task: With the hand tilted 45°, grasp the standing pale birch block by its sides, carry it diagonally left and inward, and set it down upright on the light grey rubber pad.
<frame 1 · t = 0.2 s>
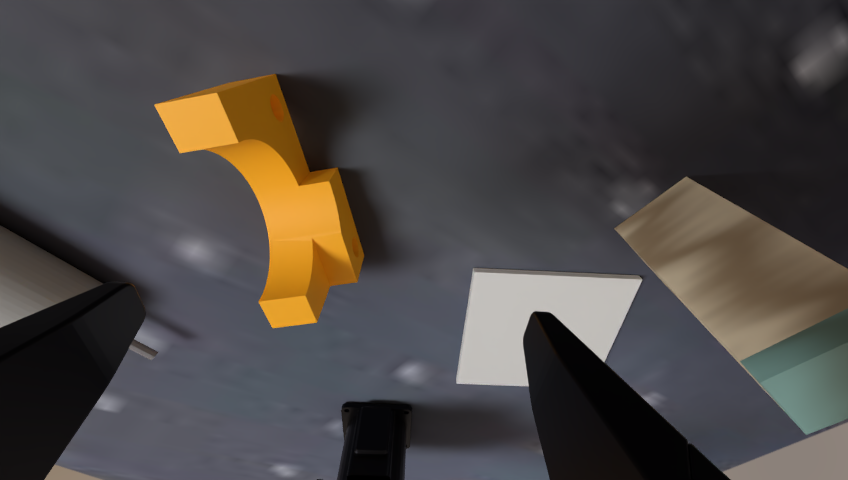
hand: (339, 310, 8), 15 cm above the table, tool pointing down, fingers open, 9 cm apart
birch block: (667, 227, 24), on the table
grey pad: (538, 332, 29), on the table
pipe clamp: (307, 177, 22), on the table
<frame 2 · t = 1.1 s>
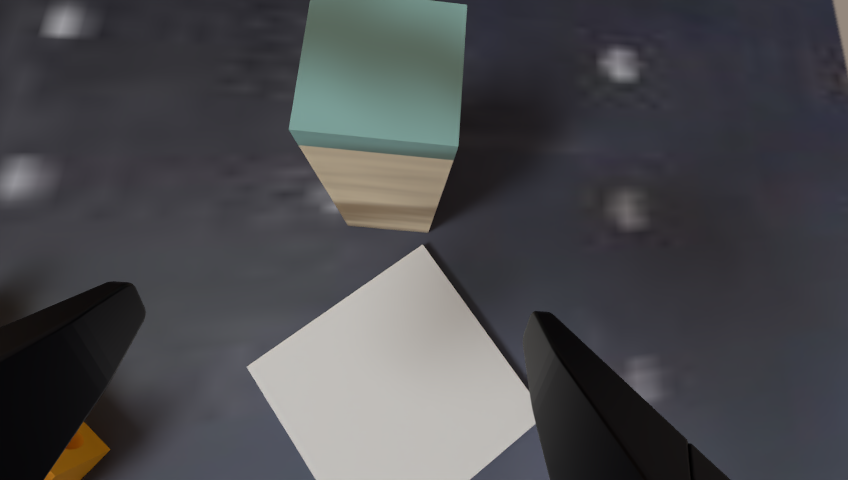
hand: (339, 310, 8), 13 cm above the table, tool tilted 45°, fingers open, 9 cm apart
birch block: (392, 191, 23), on the table
grey pad: (398, 389, 20), on the table
pipe clamp: (8, 402, 19), on the table
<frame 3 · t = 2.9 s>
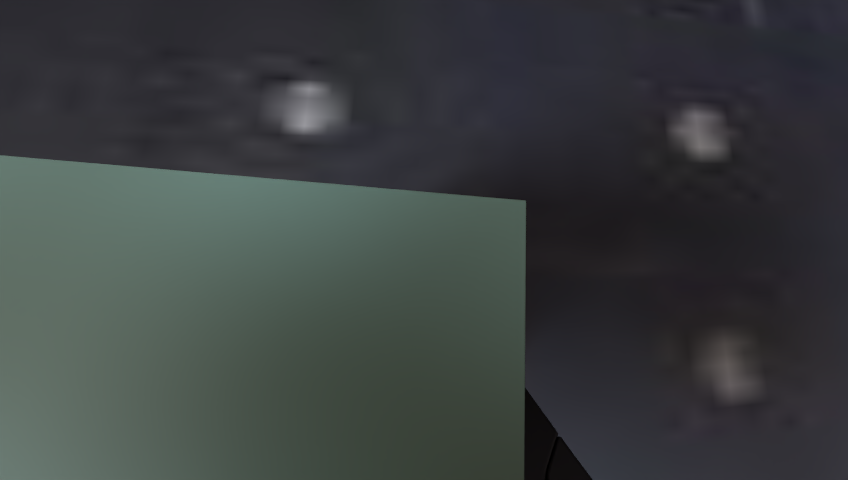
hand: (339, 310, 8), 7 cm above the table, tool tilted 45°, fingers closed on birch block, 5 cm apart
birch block: (362, 348, 14), on the table, touching gripper
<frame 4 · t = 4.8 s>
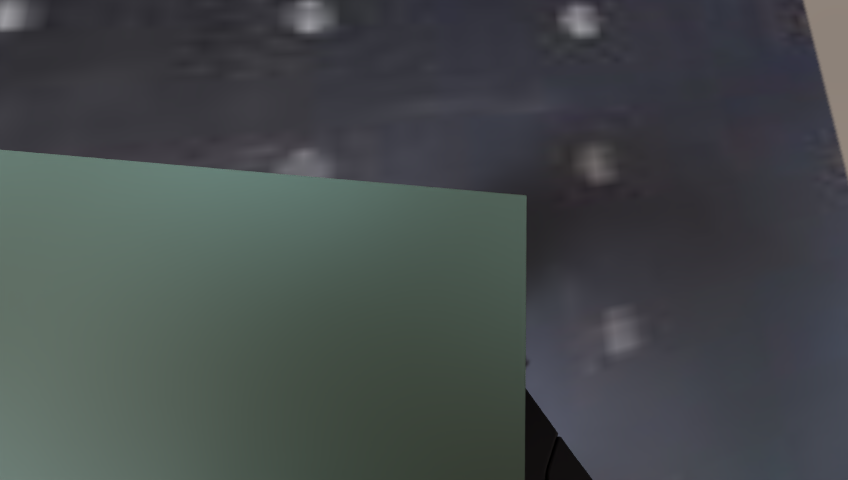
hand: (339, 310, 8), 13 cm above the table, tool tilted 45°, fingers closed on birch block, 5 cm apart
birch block: (362, 347, 14), point 6 cm above the table, touching gripper
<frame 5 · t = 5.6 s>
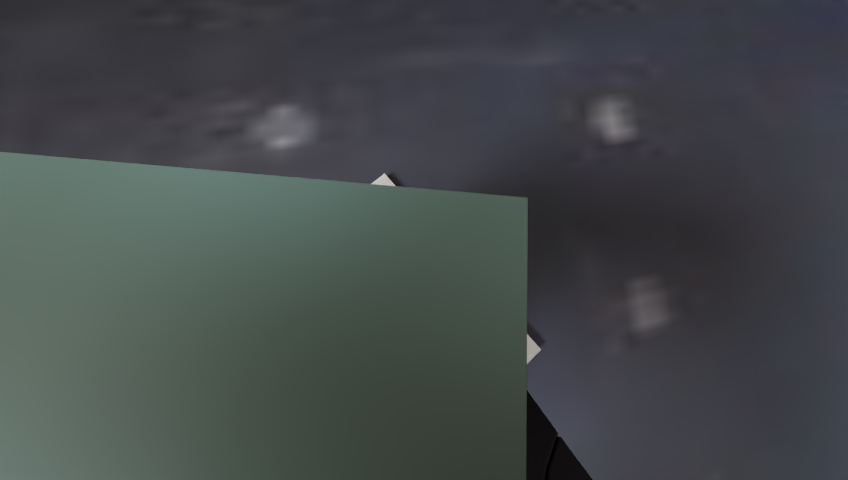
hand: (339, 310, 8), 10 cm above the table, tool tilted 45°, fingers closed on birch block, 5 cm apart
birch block: (362, 348, 14), point 3 cm above the table, touching gripper
grey pad: (369, 337, 18), on the table
when the fingers open (8 cm above the table, at t = 6.4 s): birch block stays where it is, resting on grey pad.
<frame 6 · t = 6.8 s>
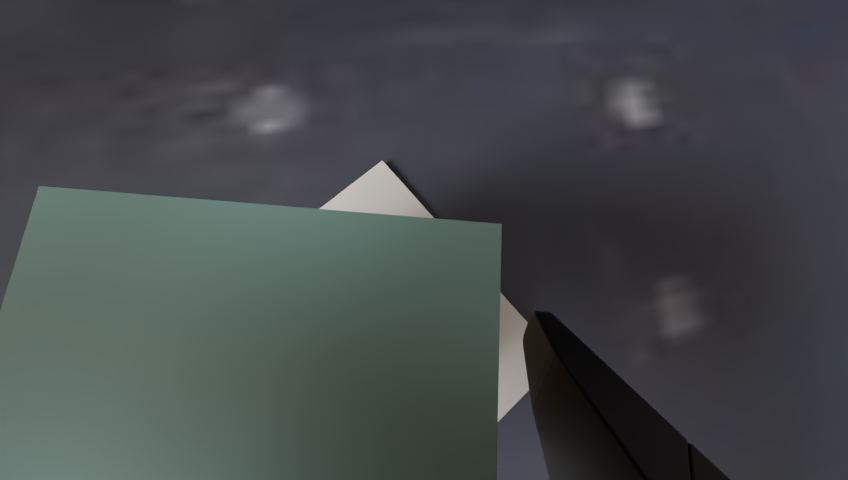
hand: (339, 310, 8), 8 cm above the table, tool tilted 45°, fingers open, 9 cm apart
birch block: (363, 347, 15), resting on grey pad
grey pad: (365, 345, 16), on the table
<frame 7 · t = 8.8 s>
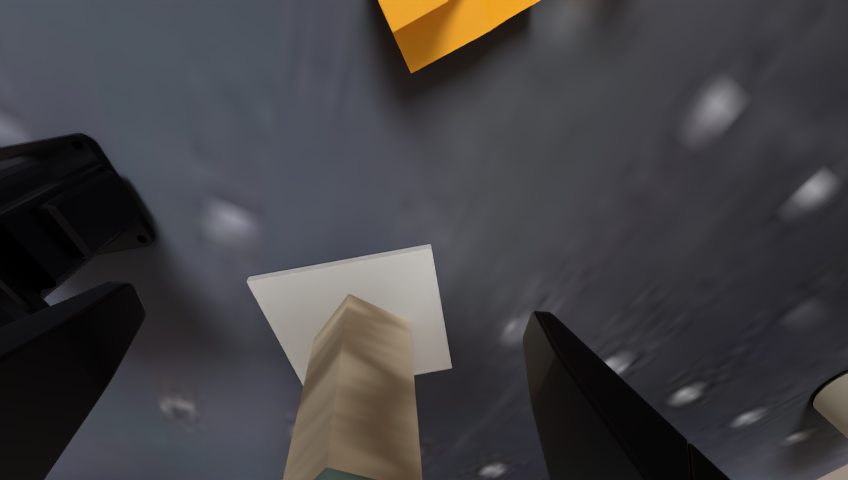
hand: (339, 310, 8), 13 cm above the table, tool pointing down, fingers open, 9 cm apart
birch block: (361, 330, 26), resting on grey pad
grey pad: (362, 325, 26), on the table
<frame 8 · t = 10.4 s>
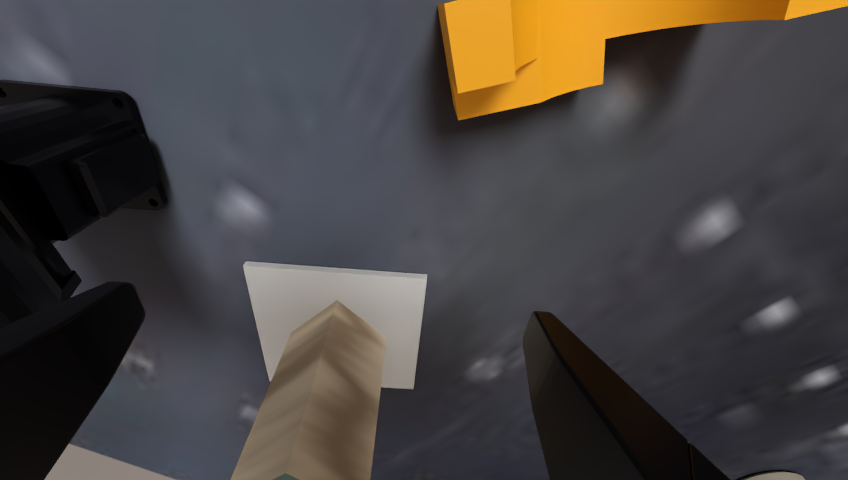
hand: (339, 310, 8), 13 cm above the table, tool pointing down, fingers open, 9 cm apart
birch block: (339, 335, 27), resting on grey pad
grey pad: (340, 330, 27), on the table
pipe clamp: (571, 27, 17), on the table
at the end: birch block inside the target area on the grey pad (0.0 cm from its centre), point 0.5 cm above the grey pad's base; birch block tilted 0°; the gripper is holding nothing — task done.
